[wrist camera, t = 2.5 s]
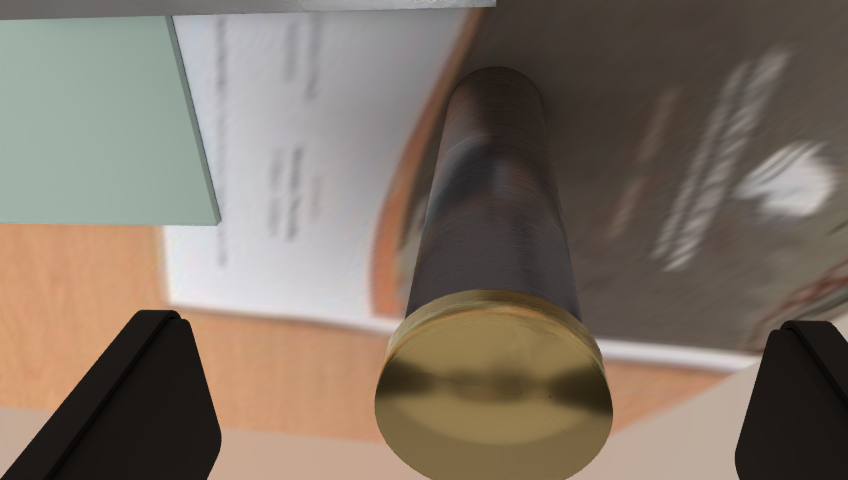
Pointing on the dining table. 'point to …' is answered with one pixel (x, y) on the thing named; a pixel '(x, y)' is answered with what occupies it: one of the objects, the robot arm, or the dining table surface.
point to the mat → (99, 125)
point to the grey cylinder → (494, 308)
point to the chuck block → (205, 7)
